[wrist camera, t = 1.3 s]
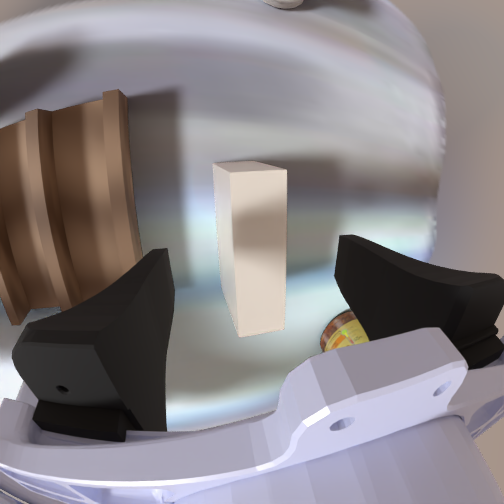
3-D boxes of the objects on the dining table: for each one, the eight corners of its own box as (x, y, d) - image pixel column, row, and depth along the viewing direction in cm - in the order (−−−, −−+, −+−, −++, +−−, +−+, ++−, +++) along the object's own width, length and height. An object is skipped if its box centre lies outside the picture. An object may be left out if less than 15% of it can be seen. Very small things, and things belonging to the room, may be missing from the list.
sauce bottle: (316, 318, 28) (441, 480, 10) (368, 300, 29) (500, 427, 11) (317, 363, 31) (411, 506, 13) (363, 345, 32) (467, 465, 14)
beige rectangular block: (256, 281, 25) (284, 329, 19) (220, 286, 24) (239, 337, 18) (252, 160, 21) (286, 169, 15) (212, 163, 20) (229, 172, 14)
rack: (149, 291, 23) (147, 314, 19) (18, 304, 20) (3, 325, 16) (127, 97, 17) (118, 89, 14) (-16, 137, 14) (-40, 139, 11)
